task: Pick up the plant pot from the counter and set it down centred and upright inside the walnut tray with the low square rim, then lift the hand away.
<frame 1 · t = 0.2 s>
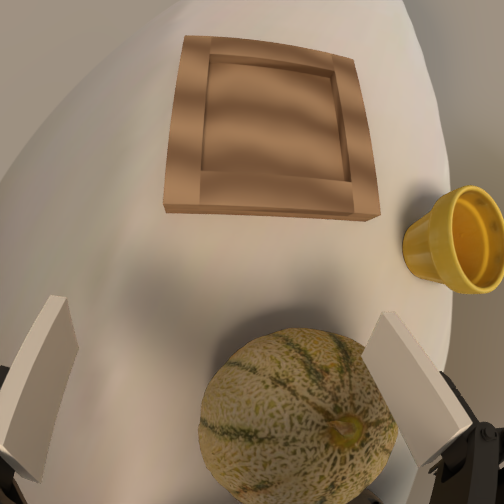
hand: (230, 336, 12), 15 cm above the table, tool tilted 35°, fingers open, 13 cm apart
cantaloupe: (274, 394, 27), on the table
walnut tray: (271, 124, 30), on the table
plant pot: (421, 251, 32), on the table
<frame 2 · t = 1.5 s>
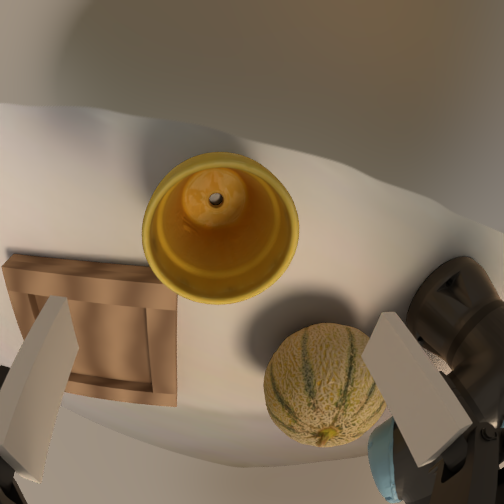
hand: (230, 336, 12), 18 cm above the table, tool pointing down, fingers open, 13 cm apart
cantaloupe: (310, 342, 39), on the table
walnut tray: (97, 332, 33), on the table
plant pot: (216, 195, 28), on the table
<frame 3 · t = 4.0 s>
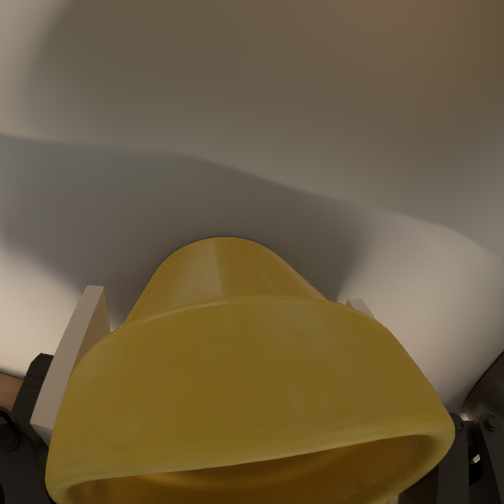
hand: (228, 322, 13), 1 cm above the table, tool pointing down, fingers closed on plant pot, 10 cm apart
walnut tray: (64, 447, 19), on the table
plant pot: (224, 300, 14), on the table, touching gripper
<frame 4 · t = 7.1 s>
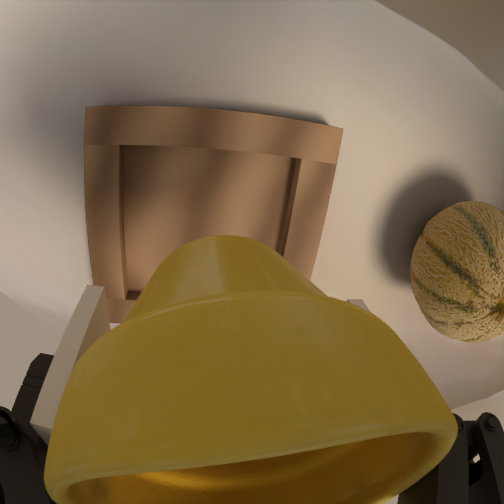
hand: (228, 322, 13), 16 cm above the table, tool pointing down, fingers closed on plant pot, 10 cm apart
cantaloupe: (435, 240, 33), on the table
walnut tray: (203, 221, 28), on the table
plant pot: (225, 299, 14), point 15 cm above the table, touching gripper
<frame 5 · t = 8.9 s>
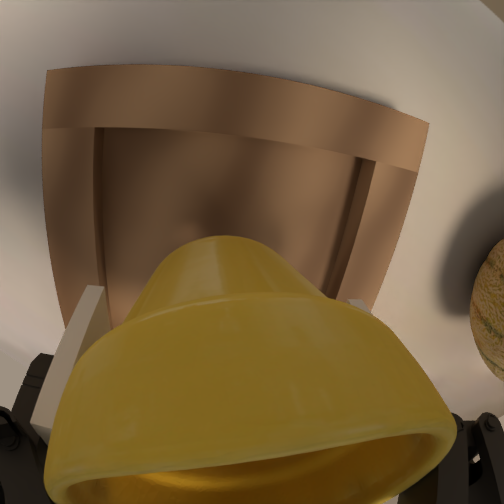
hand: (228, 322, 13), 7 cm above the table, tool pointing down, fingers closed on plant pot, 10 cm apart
cantaloupe: (491, 266, 24), on the table
walnut tray: (221, 245, 19), on the table
plant pot: (224, 299, 14), point 6 cm above the table, touching gripper
when the fingers open (4 cm above the table, at t = 10.5 s): plant pot drops 1 cm, resting on walnut tray.
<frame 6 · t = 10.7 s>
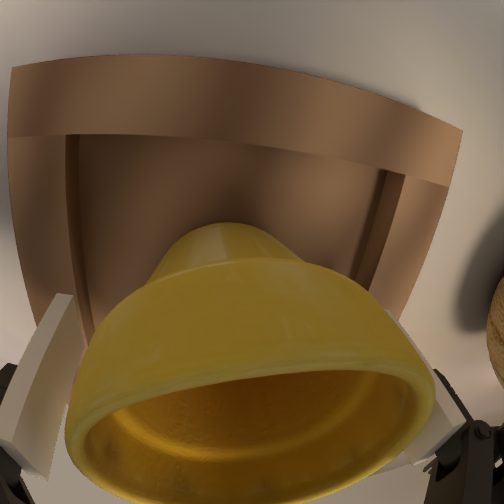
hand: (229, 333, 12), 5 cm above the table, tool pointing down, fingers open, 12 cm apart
walnut tray: (221, 269, 16), on the table
plant pot: (228, 282, 15), point 1 cm above the table, touching walnut tray
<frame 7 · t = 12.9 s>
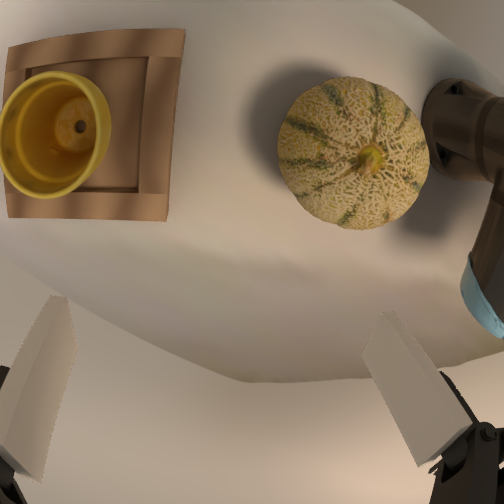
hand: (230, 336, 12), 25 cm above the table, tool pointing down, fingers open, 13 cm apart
cantaloupe: (324, 141, 34), on the table
walnut tray: (86, 123, 28), on the table
plant pot: (83, 124, 27), point 1 cm above the table, touching walnut tray
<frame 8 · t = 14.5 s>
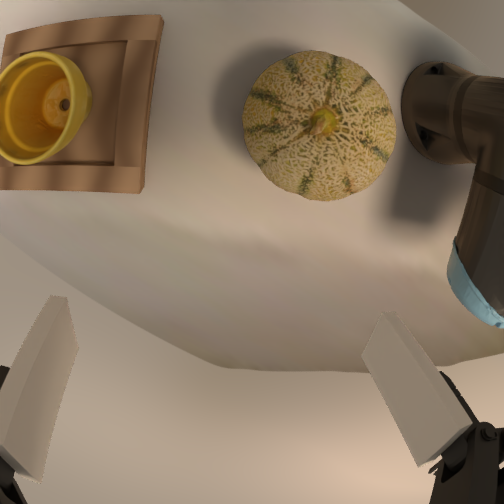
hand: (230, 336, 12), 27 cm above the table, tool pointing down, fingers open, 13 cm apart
cantaloupe: (297, 119, 34), on the table
walnut tray: (71, 103, 28), on the table
plant pot: (69, 103, 27), point 1 cm above the table, touching walnut tray
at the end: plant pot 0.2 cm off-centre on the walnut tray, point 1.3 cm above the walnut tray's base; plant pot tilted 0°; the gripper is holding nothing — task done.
